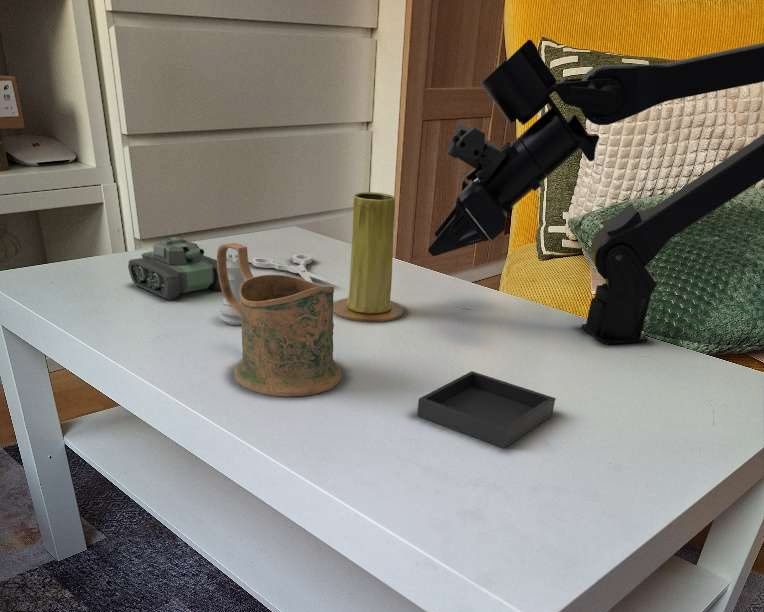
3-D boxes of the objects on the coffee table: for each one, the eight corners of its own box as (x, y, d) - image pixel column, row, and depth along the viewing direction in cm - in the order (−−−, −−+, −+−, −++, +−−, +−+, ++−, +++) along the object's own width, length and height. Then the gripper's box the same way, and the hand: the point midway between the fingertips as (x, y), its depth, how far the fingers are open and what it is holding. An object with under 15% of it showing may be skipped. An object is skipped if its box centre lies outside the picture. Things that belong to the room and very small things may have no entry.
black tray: (469, 387, 80) (471, 370, 79) (552, 415, 75) (555, 398, 74) (416, 415, 74) (418, 398, 72) (504, 448, 69) (507, 430, 68)
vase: (344, 313, 98) (348, 198, 90) (349, 299, 103) (352, 190, 96) (390, 316, 98) (397, 202, 90) (392, 302, 103) (399, 193, 95)
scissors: (302, 251, 123) (361, 282, 108) (302, 256, 123) (361, 287, 109) (242, 256, 118) (296, 289, 104) (242, 261, 118) (296, 295, 104)
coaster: (391, 298, 106) (391, 296, 106) (412, 320, 98) (412, 317, 98) (325, 301, 103) (326, 298, 103) (342, 323, 96) (342, 320, 95)
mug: (265, 333, 91) (261, 232, 84) (362, 378, 81) (367, 267, 74) (183, 354, 84) (172, 245, 77) (279, 406, 74) (276, 285, 67)
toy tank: (188, 272, 111) (184, 224, 108) (236, 291, 105) (233, 241, 101) (126, 283, 105) (120, 233, 101) (173, 305, 98) (168, 251, 94)
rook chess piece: (212, 322, 93) (207, 257, 89) (231, 312, 97) (227, 250, 93) (243, 328, 92) (239, 263, 88) (261, 318, 96) (258, 255, 91)
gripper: (493, 94, 93) (401, 182, 100) (489, 104, 77) (381, 207, 85) (545, 167, 97) (453, 247, 104) (552, 190, 81) (443, 282, 88)
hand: (433, 244), depth 95 cm, fingers open, 9 cm apart
